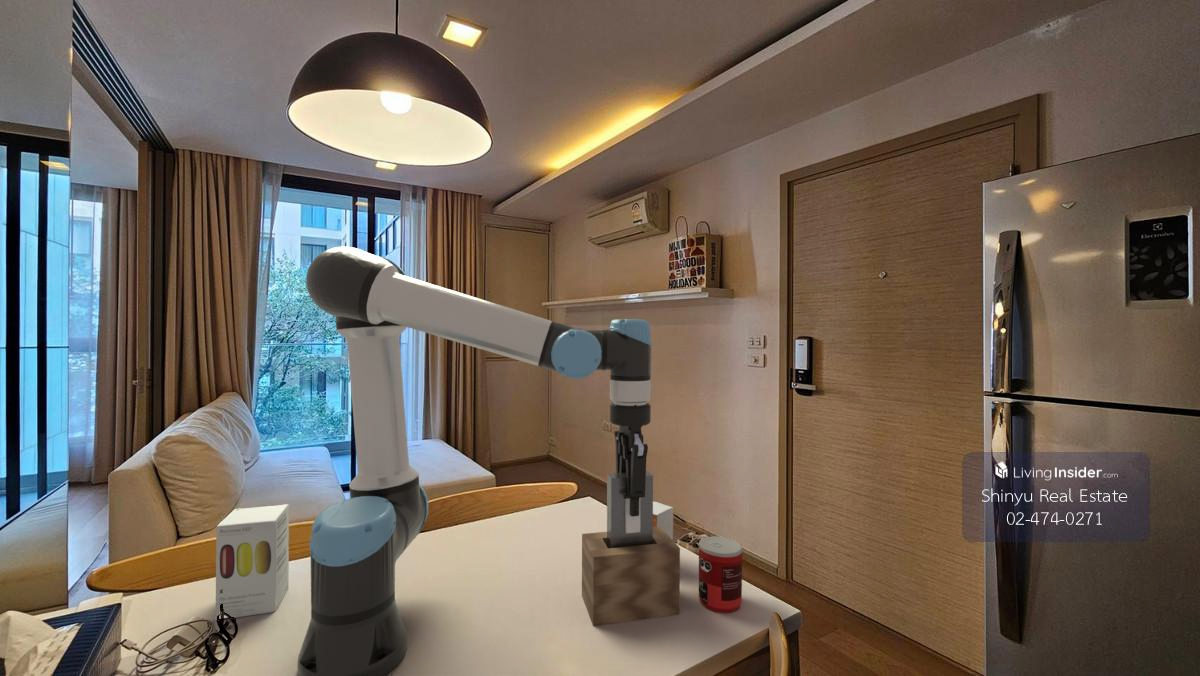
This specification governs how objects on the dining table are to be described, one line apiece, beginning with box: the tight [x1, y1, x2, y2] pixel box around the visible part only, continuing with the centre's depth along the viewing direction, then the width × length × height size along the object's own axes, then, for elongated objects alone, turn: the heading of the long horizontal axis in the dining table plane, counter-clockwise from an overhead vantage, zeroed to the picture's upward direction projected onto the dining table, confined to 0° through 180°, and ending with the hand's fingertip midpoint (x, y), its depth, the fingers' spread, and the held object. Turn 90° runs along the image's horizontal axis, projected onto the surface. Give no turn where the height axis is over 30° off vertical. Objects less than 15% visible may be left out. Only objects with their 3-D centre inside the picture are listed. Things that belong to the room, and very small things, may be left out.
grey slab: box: [606, 470, 654, 549], centre depth 92 cm, size 8×3×14 cm, turn 103°
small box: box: [653, 500, 674, 541], centre depth 108 cm, size 8×6×13 cm
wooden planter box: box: [581, 527, 681, 627], centre depth 92 cm, size 16×10×12 cm, turn 103°
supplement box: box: [214, 503, 290, 621], centre depth 92 cm, size 10×9×17 cm
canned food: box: [698, 535, 743, 614], centre depth 93 cm, size 8×8×11 cm
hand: (629, 527), depth 92 cm, fingers closed on grey slab, 3 cm apart
